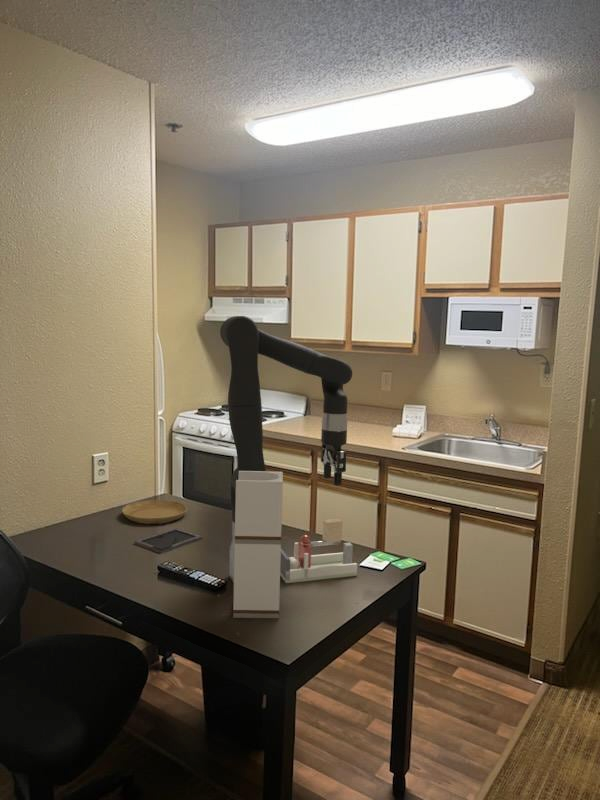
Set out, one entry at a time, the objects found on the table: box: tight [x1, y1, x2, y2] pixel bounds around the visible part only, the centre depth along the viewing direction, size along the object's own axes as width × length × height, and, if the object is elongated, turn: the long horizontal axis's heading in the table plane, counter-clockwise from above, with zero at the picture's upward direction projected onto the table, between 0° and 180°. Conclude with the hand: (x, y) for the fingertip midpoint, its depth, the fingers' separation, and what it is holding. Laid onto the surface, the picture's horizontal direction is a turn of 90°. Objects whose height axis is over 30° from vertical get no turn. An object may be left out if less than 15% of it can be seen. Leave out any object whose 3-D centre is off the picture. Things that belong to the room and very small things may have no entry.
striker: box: [298, 518, 343, 568], centre depth 181 cm, size 12×5×14 cm, turn 109°
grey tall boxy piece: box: [232, 470, 284, 619], centre depth 156 cm, size 11×11×35 cm
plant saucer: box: [121, 499, 188, 525], centre depth 231 cm, size 24×24×3 cm
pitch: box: [280, 541, 358, 584], centre depth 181 cm, size 22×10×8 cm, turn 109°
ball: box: [290, 558, 300, 570], centre depth 179 cm, size 4×4×4 cm
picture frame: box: [133, 527, 203, 554], centre depth 204 cm, size 13×2×18 cm
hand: (332, 481), depth 182 cm, fingers open, 8 cm apart
